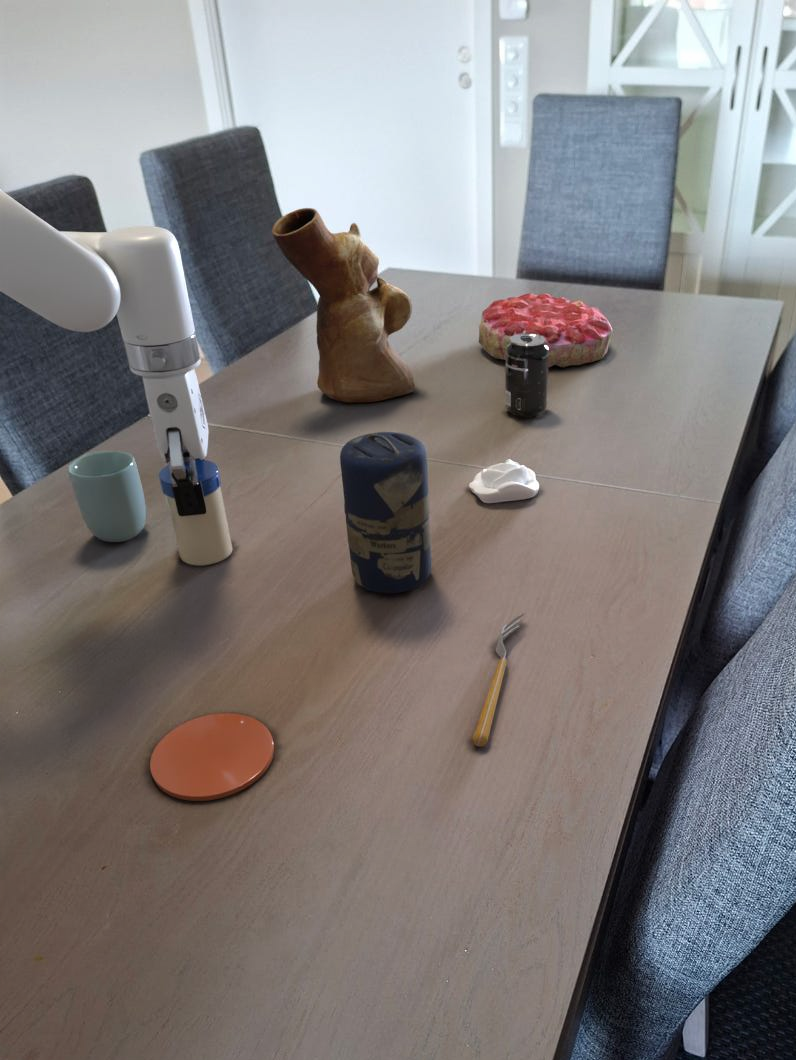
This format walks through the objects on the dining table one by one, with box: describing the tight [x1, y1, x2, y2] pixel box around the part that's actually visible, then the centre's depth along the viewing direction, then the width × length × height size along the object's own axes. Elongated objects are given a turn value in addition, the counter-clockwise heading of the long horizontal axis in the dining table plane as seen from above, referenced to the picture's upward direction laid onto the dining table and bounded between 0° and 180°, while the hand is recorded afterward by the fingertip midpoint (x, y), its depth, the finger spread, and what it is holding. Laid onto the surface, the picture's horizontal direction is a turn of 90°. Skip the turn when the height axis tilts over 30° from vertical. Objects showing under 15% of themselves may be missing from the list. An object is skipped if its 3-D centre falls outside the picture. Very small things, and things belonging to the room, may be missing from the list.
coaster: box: [149, 712, 275, 802], centre depth 82 cm, size 11×11×1 cm
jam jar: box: [165, 485, 233, 566], centre depth 109 cm, size 6×6×11 cm
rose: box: [468, 458, 540, 504], centre depth 124 cm, size 10×4×10 cm
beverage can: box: [504, 333, 549, 418], centre depth 145 cm, size 7×7×12 cm
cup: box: [67, 450, 147, 543], centre depth 113 cm, size 8×8×10 cm
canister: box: [339, 431, 432, 594], centre depth 102 cm, size 10×10×18 cm
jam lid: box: [158, 459, 221, 498], centre depth 106 cm, size 7×7×2 cm
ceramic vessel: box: [271, 207, 416, 403], centre depth 146 cm, size 16×22×30 cm
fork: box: [472, 613, 525, 747], centre depth 91 cm, size 2×2×20 cm
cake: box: [478, 292, 614, 368], centre depth 171 cm, size 25×25×8 cm
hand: (194, 498), depth 108 cm, fingers closed on jam lid, 6 cm apart
